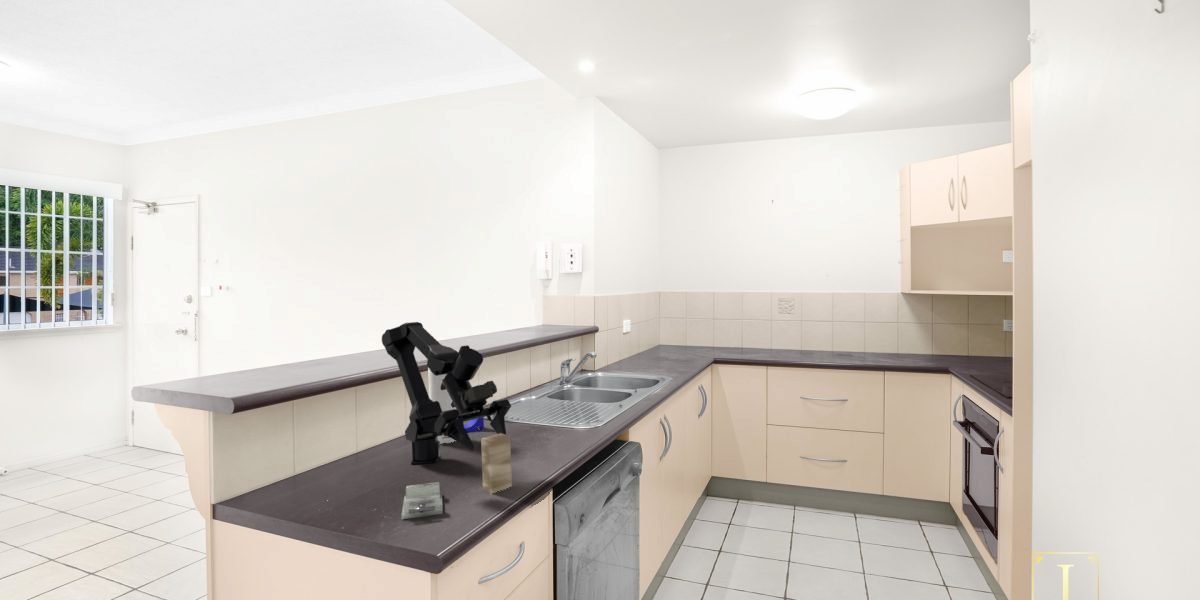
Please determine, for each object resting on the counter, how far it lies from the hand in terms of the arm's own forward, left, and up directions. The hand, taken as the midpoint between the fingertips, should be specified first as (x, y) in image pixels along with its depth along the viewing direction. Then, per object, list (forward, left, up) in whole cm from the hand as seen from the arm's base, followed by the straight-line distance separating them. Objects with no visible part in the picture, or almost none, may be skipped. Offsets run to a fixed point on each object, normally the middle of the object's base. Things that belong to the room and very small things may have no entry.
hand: (489, 444), depth 129 cm
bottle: (-17, +42, -10) cm, 46 cm away
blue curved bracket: (-13, +52, -10) cm, 54 cm away
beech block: (+2, -2, -10) cm, 10 cm away
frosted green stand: (-14, -10, -10) cm, 19 cm away
